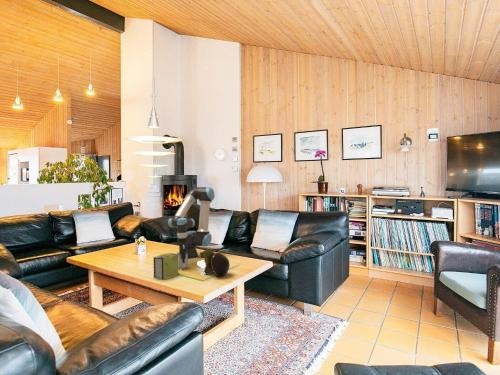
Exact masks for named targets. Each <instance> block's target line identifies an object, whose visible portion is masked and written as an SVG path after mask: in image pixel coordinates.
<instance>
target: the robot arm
mask: <svg viewBox="0 0 500 375" xmlns="http://www.w3.org/2000/svg"><path fill="white" fill-rule="evenodd" d="M214 199H215V191H214V189H213V188H212V187H207V186H206V187H204V186H196V187H194V188H191V189H190V190H189V191H188V192H187V194H186V195H185V197H184V199H183V202H182V203H181V205H180V206H179V208H178V209H177V211H176V213H175V214H174V216H173V218H168V221H167V225H168V227H169V228H176V229H177V233H176V235H177V243H178V245H179V246H178V247H179V248H178V249H179V252H180V253H181V252H182V258H181V259H182V267H185V259H186V252H187V253H188V259H194V258H197V257H198V256H199V254H198V250H197V247H209V246H210V244H211V242H212V238H213V237H212V234H211V232H210V231H209V224H210V223H209V221H210V208H211V207H210V206H211V203H212V202H213V200H214ZM197 200H198V202H199V203H200V206H199V218H198V229H197V230H189V231H188V229H192V228H194V226H195V225H196V221H195V219H194V218H186V217H185V216H186V214H187V213H188V211H189V209H190V208H191V207H192V204H193V203H194V202H196V201H197ZM179 252H178V253H179Z"/></svg>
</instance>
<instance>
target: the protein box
mask: <svg viewBox="0 0 500 375" xmlns="http://www.w3.org/2000/svg"><path fill="white" fill-rule="evenodd" d="M178 275H179V269H178V254H177V253H174V252H166V253H163V254H160V255H156V256H153V278H154V279H158V280H162V281H164V280H168V279H170V278H173V277H175V276H178Z"/></svg>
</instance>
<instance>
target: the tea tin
mask: <svg viewBox="0 0 500 375" xmlns="http://www.w3.org/2000/svg"><path fill="white" fill-rule="evenodd" d="M176 254H178V271H180V269H182V270H187V269H186V268H189V267H188V266H189V261H188V260H189V258H188V253H187V252H186V259H185V267H182V259H181V258H182V252H181V253H180V252H176Z"/></svg>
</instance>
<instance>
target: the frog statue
mask: <svg viewBox="0 0 500 375" xmlns="http://www.w3.org/2000/svg"><path fill="white" fill-rule="evenodd" d="M199 255H200V257H201V258H202V259H204V263H205V267H204V269H203V273H204V272H205V273H208V274H210V273H212V271H214V272H213V273H214V274H215V276H216V277H220V278H221V277H224V276H225V275H227V274H228V272H229V270H230V264H231V263H230V261H229V258H228V257H227V256H226V255H225V254H223V253H221V252H214V251H213V250H211V249H204V250H203V251H200V252H199ZM208 274H207V275H208Z"/></svg>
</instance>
